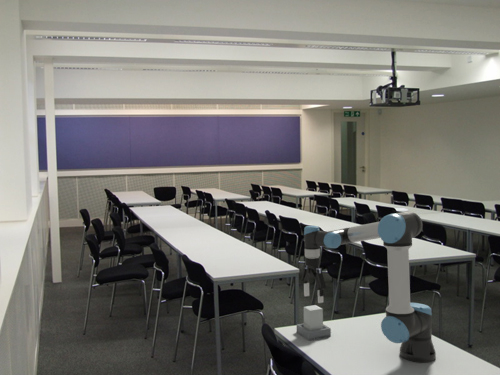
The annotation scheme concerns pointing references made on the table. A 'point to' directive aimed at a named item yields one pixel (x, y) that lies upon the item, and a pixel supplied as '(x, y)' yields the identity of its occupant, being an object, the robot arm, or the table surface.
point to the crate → (313, 332)
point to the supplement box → (313, 318)
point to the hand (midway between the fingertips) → (313, 299)
